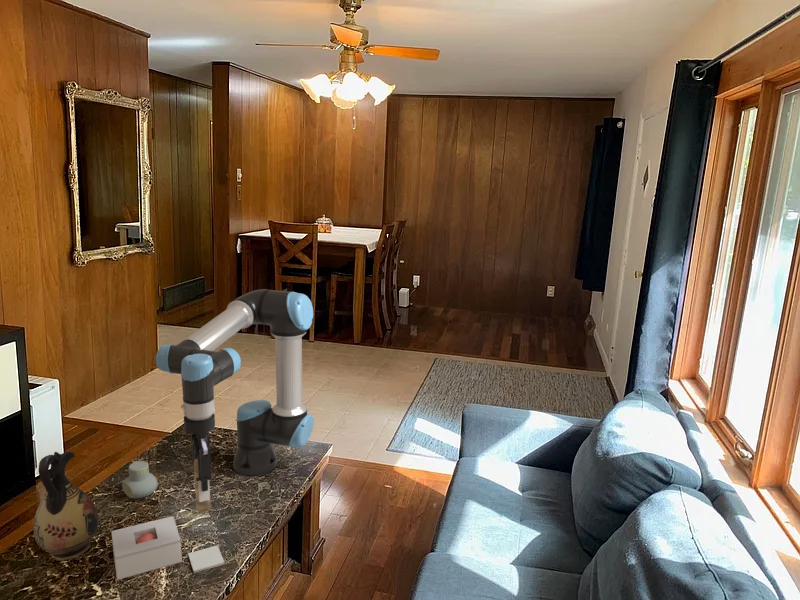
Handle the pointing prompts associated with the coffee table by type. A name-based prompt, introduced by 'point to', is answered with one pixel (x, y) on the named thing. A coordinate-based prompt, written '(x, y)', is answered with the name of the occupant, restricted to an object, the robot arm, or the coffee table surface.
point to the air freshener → (139, 481)
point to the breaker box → (146, 547)
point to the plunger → (145, 538)
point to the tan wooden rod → (202, 505)
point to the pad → (205, 559)
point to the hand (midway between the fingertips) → (202, 495)
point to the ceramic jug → (63, 512)
